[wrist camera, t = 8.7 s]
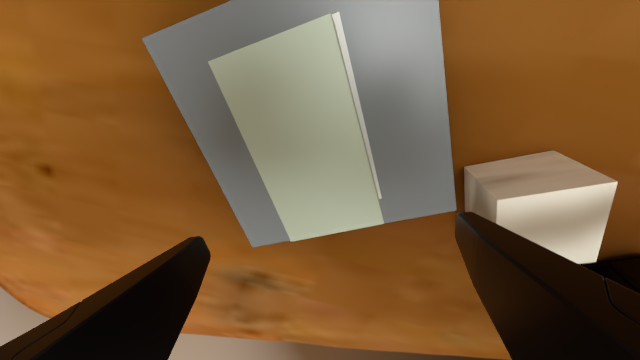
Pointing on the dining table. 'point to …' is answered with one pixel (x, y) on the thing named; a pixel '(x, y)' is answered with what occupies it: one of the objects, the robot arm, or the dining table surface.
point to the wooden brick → (302, 129)
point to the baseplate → (367, 88)
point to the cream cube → (544, 201)
